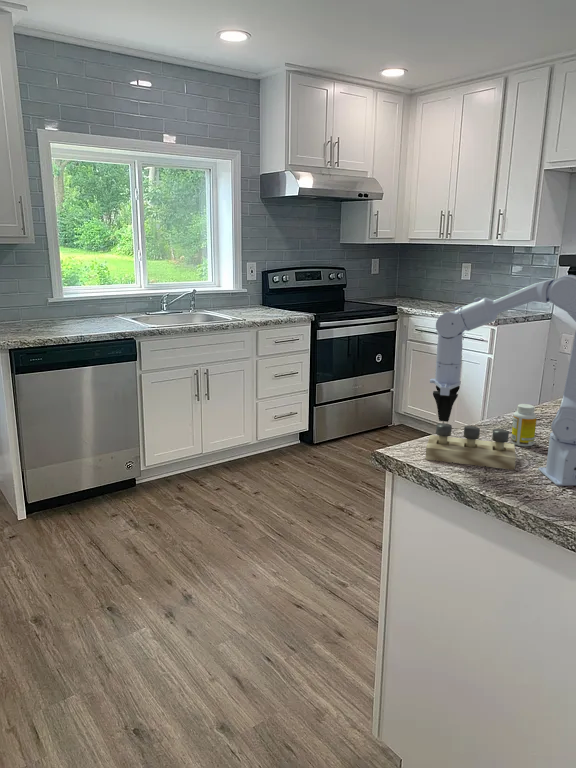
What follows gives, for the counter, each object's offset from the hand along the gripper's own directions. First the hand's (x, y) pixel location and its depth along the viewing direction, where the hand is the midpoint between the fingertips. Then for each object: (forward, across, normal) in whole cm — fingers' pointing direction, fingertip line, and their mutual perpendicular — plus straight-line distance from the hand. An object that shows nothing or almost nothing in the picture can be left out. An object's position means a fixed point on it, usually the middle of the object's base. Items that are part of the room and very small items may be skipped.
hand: (444, 417), depth 139 cm
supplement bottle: (+10, -15, +19) cm, 26 cm away
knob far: (+7, 0, 0) cm, 7 cm away
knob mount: (+9, 0, +6) cm, 11 cm away
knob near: (+7, 0, +13) cm, 15 cm away
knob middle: (+7, 0, +7) cm, 10 cm away
